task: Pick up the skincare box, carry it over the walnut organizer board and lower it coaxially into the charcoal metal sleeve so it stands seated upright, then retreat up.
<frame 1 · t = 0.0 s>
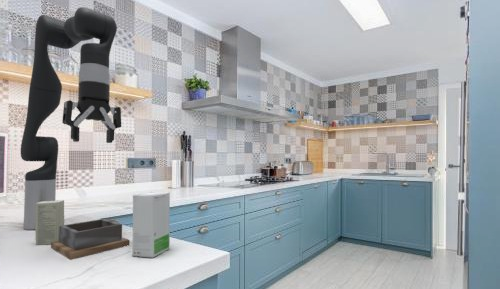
hand: (93, 142, 78), 29 cm above the table, fingers open, 8 cm apart
sleeve holder: (90, 246, 81), on the table
skincare box 2: (151, 253, 76), on the table
skincare box: (49, 243, 86), on the table
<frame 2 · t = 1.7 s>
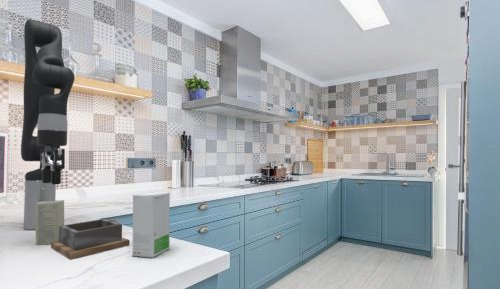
hand: (51, 183, 86), 17 cm above the table, fingers open, 8 cm apart
nothing on the table moved.
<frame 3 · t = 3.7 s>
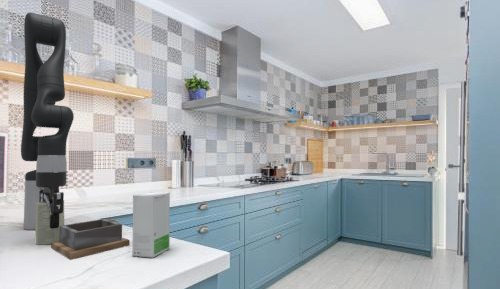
hand: (50, 225, 86), 5 cm above the table, fingers closed on skincare box, 7 cm apart
skincare box: (49, 243, 86), on the table, touching gripper
everything else where it was.
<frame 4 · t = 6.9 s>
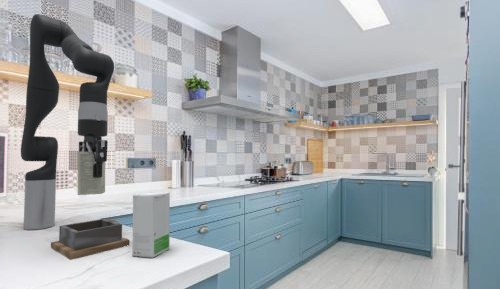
hand: (91, 176, 82), 20 cm above the table, fingers closed on skincare box, 7 cm apart
skincare box: (91, 194, 82), point 15 cm above the table, touching gripper
everything else where it was.
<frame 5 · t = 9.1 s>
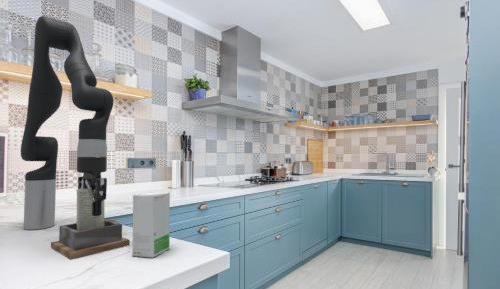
hand: (91, 213, 82), 9 cm above the table, fingers closed on skincare box, 7 cm apart
skincare box: (90, 231, 81), point 4 cm above the table, touching gripper
everything else where it was.
when the fingers open (8 cm above the table, at t = 10.6 s): skincare box drops 1 cm, resting on sleeve holder.
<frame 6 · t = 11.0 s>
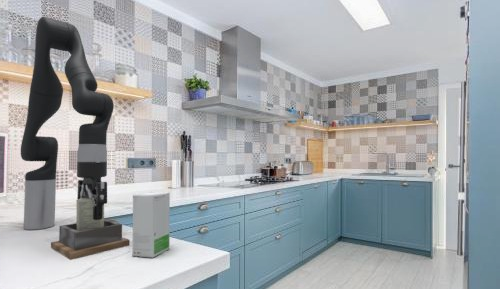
hand: (91, 217, 82), 8 cm above the table, fingers open, 8 cm apart
skincare box: (90, 241, 81), point 1 cm above the table, touching sleeve holder
everything else where it was.
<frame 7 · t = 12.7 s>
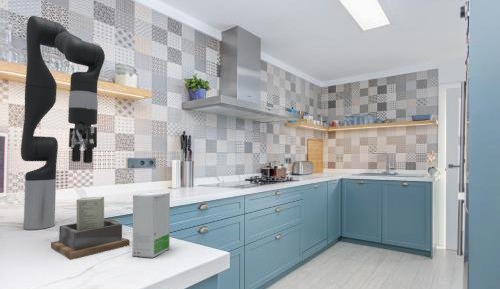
hand: (81, 162, 86), 24 cm above the table, fingers open, 8 cm apart
nothing on the table moved.
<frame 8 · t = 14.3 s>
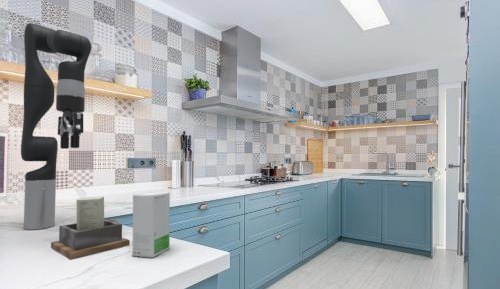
hand: (69, 148, 89), 28 cm above the table, fingers open, 8 cm apart
nothing on the table moved.
at the end: skincare box 0.1 cm off-centre on the sleeve holder, point 1.3 cm above the sleeve holder's base; skincare box tilted 0°; the gripper is holding nothing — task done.
